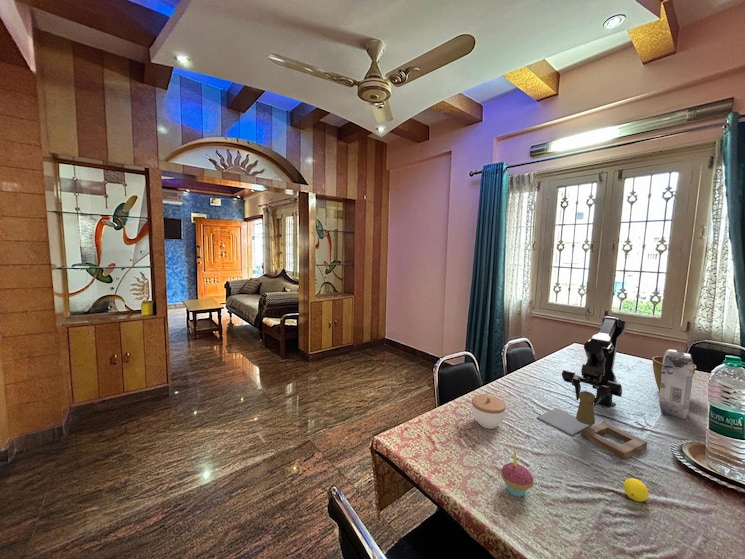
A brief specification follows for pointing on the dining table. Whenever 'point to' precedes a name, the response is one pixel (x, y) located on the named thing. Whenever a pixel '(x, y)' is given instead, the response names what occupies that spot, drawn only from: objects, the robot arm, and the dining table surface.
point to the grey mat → (563, 421)
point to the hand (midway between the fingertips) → (585, 402)
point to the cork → (586, 408)
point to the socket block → (621, 451)
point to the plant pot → (660, 369)
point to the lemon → (635, 489)
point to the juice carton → (676, 383)
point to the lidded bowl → (488, 410)
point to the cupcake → (516, 478)
